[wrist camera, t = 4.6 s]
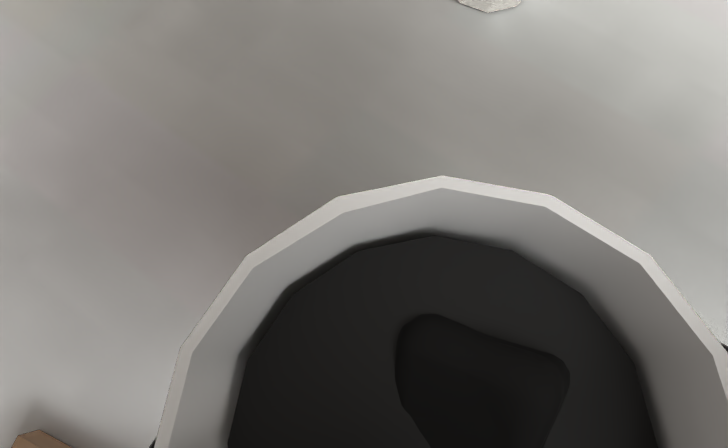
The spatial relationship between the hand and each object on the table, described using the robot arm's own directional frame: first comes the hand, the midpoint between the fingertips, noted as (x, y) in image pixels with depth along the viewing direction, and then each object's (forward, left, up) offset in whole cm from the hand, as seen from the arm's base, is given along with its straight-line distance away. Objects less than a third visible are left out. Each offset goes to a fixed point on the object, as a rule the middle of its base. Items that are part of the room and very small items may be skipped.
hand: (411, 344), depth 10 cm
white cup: (-1, -1, -7) cm, 7 cm away
